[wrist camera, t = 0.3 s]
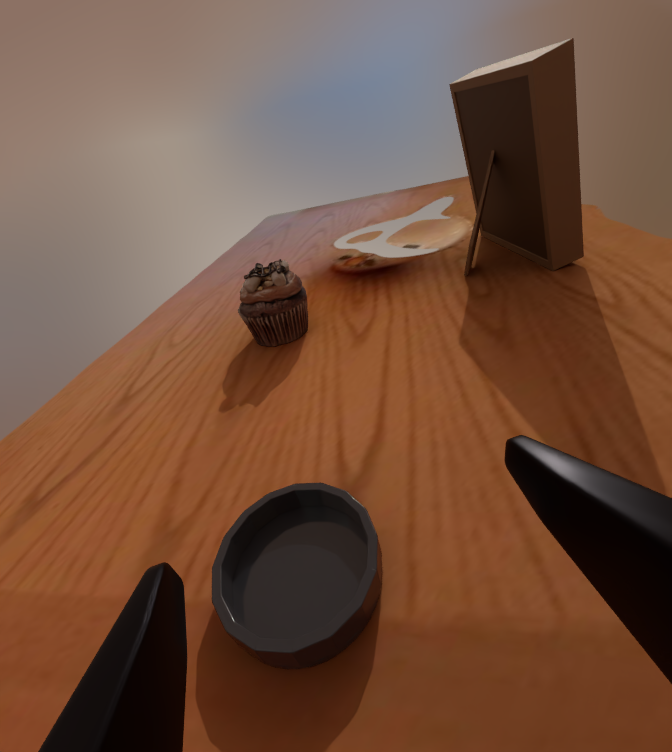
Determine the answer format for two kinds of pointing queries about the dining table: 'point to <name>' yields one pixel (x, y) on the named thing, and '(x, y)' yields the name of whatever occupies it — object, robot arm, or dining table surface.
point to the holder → (298, 575)
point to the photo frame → (524, 154)
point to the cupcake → (274, 304)
